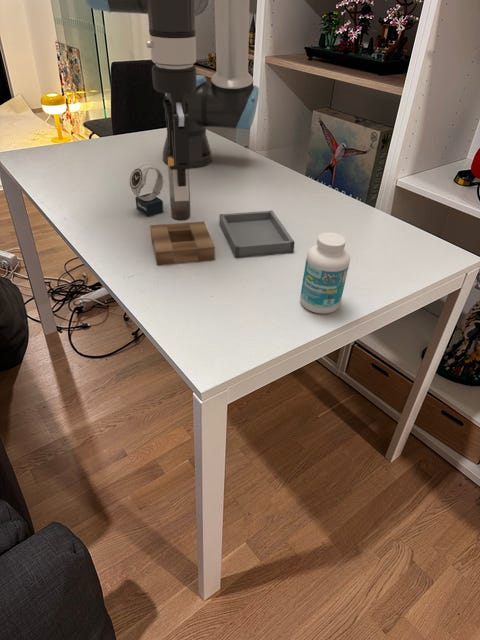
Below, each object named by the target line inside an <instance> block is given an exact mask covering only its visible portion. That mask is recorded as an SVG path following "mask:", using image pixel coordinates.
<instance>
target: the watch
mask: <svg viewBox="0 0 480 640" xmlns="http://www.w3.org/2000/svg"><path fill="white" fill-rule="evenodd" d="M149 170H155V172H156V179H155V183H154V186H153V188H152V192H151V193H146V194H142V195H140V193H141V190H142V189H143V188H144V187H145V186H146V184H147V175H148V173H149ZM164 183H165V182H164V176H163V173H162V172H161V170H160V169H158V168H157V167H155V166H153V165H151V164H144V165H141V166H138V167H137V168H134V170H133V171H132V172H131V175H130V177H129V185H130V188H131V191H132V193H133V194H134V196H135V198H134V199H135V208H136V210H137V211H138V212H140V213H141V214H143V215H144V216H146V217H147V218H150V217H153V216H156V215H160V214H163V213H164V201H163V200H162V198H159V197H158V196H160V194H161V191H162V189H163V186H164Z"/></svg>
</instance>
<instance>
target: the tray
mask: <svg viewBox="0 0 480 640" xmlns="http://www.w3.org/2000/svg"><path fill="white" fill-rule="evenodd" d="M219 226H220V229H221V230H222V232H223V234H224V237H225V239H226V241H227V243H228V245H229V247H230V249H231V252H232V253H233V256H234V257H235V259H239V258H246V257H247V258H250V257H260V256H269V255H279V254H280V255H281V254H282V255H283V254H291V253H294V250H295V249H294V248H295V241H294V239H293V238H292V236H291V235H290V233H289V232H288V230H287V229H286V228H285V226H284V224H282V222H281V220H280V219H279V218H278V217H277V215H276V213H275V212H274V210H262V211H261V210H260V211H259V210H258V211H249V212H235V213H234V212H233V213H221V214H219Z"/></svg>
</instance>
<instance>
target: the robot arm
mask: <svg viewBox="0 0 480 640" xmlns="http://www.w3.org/2000/svg"><path fill="white" fill-rule="evenodd" d="M85 2H86V4H87V5H88V6H89V8H91V9H92V10H95V11H102V12H108V13H121V14H122V13H123V14H126V13H127V14H139V15H141V14H142V15H144V14H145V15H147V19H148V33H149V38H150V40H149V41H146V43H145V45H146V48H148V49H150V57H151V58H150V59H151V61H152V62H153V63H154V64H153V65H152V67H151V76H152V86H153V87H152V88H153V90H155V91H156V92H158V93H161V94H164V98H163V102H162V103H163V108H164V115H165V121H166V122H165V123H166V138H165V140H164V146H163V150H162V161H163V163H165V164H166V165H168V157H170V156H173V158H174V165H173V166H170V169H171V170H173V178H174V196H175V201H188V200H189V190H188V169H189V170H190V169H191V168H192V169H194V168H201V167H205V166H208V165H209V164H211V163H212V159H213V153H212V149H211V146H210V143H209V140H208V136H207V128H215V129H216V128H217V129H224V130H225V129H226V130H234V131H238V130H239V131H240V130H242V131H247V130H249V129H251V128H252V126H253V123H254V118H255V115H256V112H257V111H256V110H257V107H258V106H257V105H258V100H259V93H260V91H259V90H260V88H259V86H257V85H254V77H253V76H252V75H251V73H249V48H250V47H249V45H250V44H249V40H250V39H249V38H250V37H249V35H250V33H249V32H250V0H214V28H215V29H214V30H215V31H214V32H215V61H216V62H215V63H216V65H215V66H216V69H215V70H216V71H215V73H214V74H213V75H212V76H211V79H210V81H211V82H207V78H206V76H205V75H203V74H201V75H200V74H197V68H196V66H195V65H194V64H196V63H197V35H196V17H197V16H199V15H201V14H203V12H205V11H206V9H207V8H208V7H209V6H210V3H211V2H212V0H85Z"/></svg>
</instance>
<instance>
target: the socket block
mask: <svg viewBox="0 0 480 640" xmlns="http://www.w3.org/2000/svg"><path fill="white" fill-rule="evenodd" d="M149 228H150V239H151V244H152V247H153V252H154V253H153V254H154V258H155V261H156V266H162V265H163V266H164V265H173V264H183V263H185V264H186V263H195V262H207V261H215V259H216V258H215V257H216V256H215V253H216V250H215V249H216V246H215V245H214V242H213V240H212V238H211V235H210V233H209V231H208V228H207V225H206V223H205V220H203V221H188V222H177V223H164V224H153V225H152V224H151V225H149Z"/></svg>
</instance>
